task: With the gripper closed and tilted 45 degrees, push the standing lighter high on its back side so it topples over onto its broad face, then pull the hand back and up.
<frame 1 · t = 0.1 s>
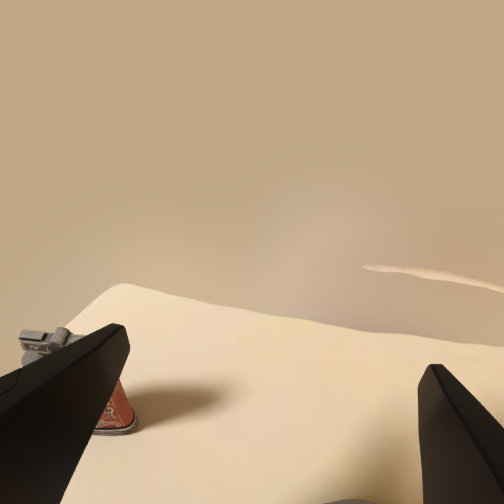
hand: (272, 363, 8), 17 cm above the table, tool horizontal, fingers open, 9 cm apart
lighter: (96, 420, 22), on the table
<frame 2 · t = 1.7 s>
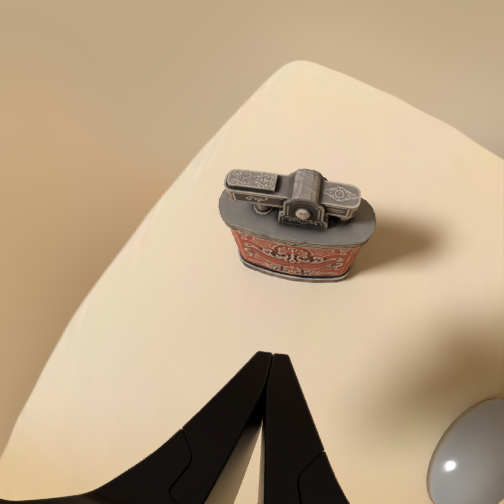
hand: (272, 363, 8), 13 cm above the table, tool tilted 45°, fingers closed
lighter: (295, 258, 23), on the table
grey smooth stone: (480, 458, 15), on the table
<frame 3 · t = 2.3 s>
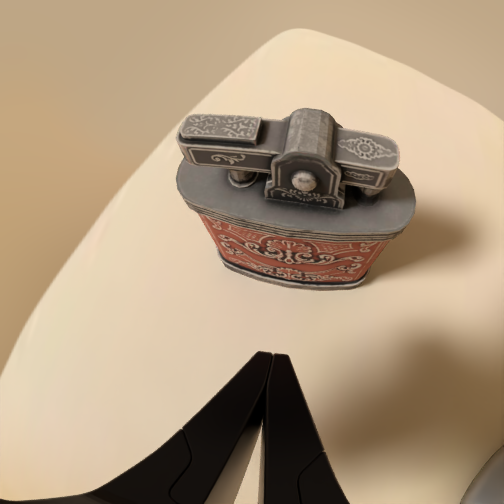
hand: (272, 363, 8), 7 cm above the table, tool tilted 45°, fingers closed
lighter: (293, 258, 17), on the table
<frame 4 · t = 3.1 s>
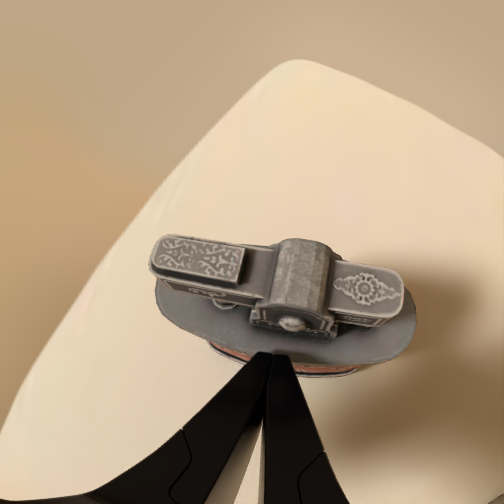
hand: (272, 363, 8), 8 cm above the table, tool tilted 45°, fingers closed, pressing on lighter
lighter: (284, 343, 16), on the table, touching gripper
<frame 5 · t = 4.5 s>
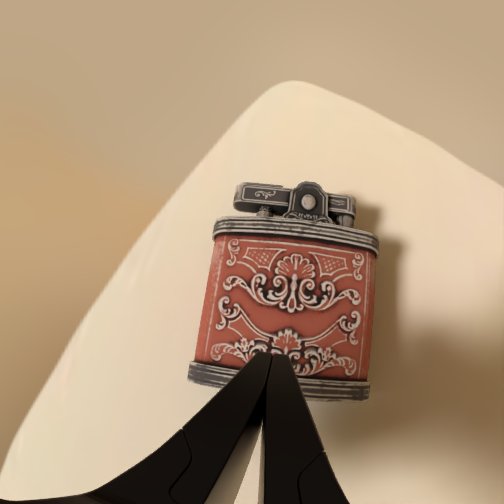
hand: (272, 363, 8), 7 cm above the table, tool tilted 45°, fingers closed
lighter: (277, 397, 13), point 2 cm above the table
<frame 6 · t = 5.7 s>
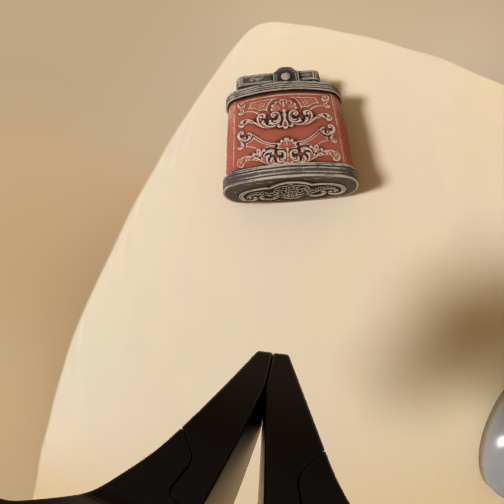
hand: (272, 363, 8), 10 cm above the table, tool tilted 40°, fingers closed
lighter: (291, 193, 18), point 2 cm above the table
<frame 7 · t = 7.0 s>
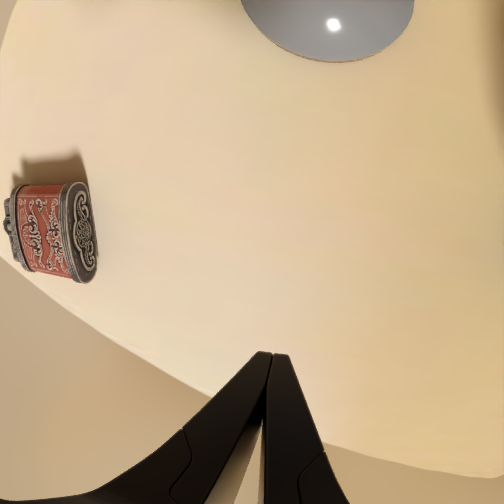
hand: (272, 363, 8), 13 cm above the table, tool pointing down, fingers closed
lighter: (84, 234, 22), point 2 cm above the table
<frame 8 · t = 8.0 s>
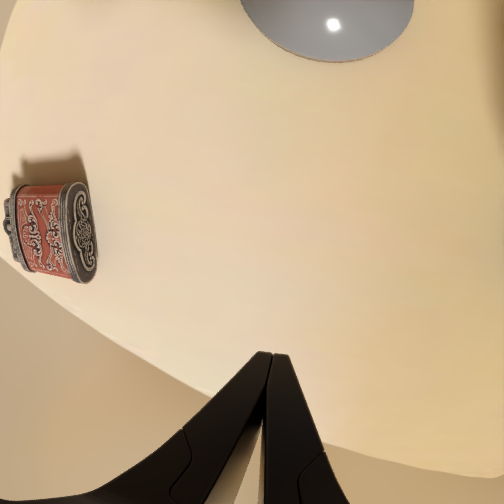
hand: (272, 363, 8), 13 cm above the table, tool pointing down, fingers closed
lighter: (84, 234, 22), point 2 cm above the table
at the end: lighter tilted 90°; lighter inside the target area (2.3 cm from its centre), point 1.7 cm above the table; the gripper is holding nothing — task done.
